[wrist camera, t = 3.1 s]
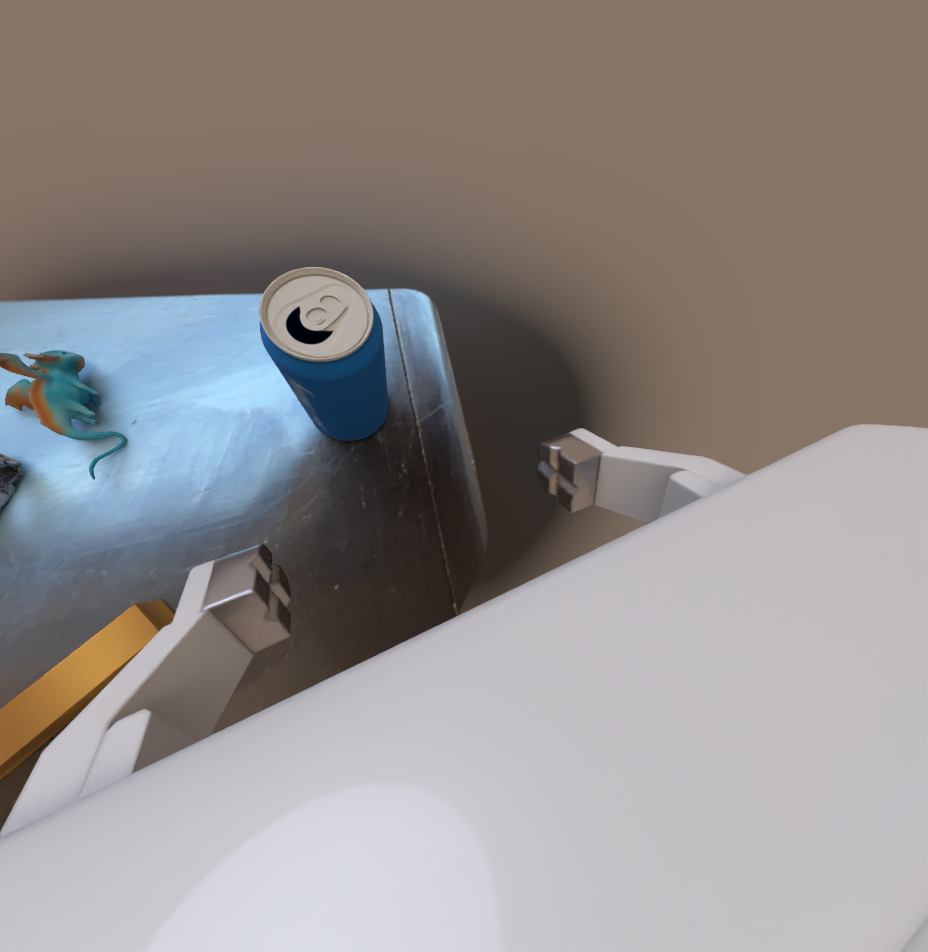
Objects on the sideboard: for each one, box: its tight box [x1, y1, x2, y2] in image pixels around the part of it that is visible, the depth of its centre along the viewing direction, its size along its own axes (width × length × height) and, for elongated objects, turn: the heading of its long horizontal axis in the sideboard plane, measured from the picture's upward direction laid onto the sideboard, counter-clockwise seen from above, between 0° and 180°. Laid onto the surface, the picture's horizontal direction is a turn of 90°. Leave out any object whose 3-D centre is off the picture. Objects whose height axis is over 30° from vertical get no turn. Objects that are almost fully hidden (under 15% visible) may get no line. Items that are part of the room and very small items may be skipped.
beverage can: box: [259, 267, 388, 441], centre depth 23 cm, size 6×6×12 cm
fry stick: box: [0, 600, 175, 780], centre depth 20 cm, size 15×2×2 cm, turn 135°
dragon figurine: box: [0, 351, 126, 480], centre depth 24 cm, size 7×7×8 cm
